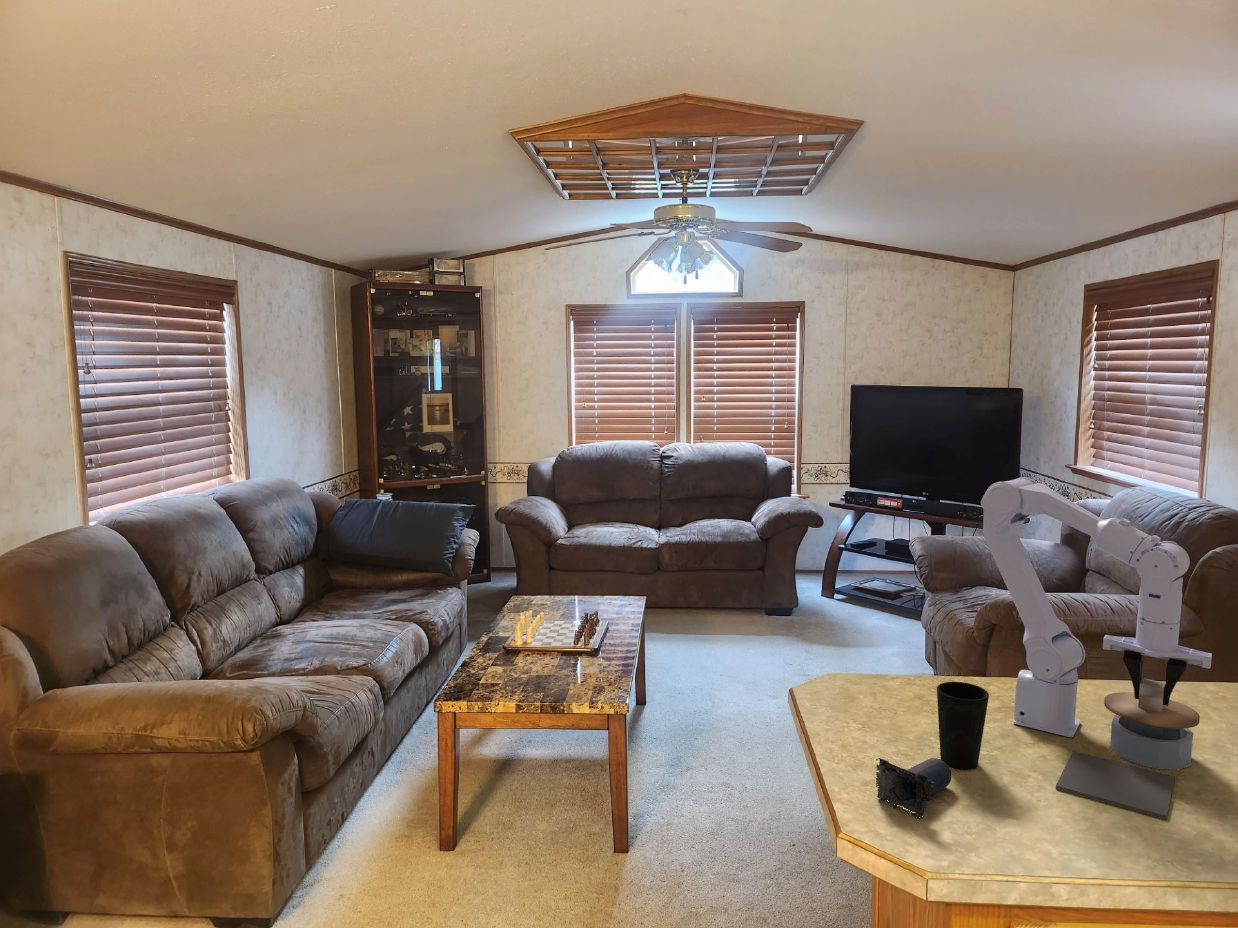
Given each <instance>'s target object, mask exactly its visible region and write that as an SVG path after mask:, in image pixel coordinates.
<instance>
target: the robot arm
mask: <svg viewBox="0 0 1238 928" xmlns="http://www.w3.org/2000/svg"><path fill="white" fill-rule="evenodd" d="M980 505H981V507H982V509H983V517H982V518H983V523H982V524H983V525H982V526H983V527H982V534H983V538H984V539H985V542H986V545H987V546H988V549H989V550H990V553H991V555H992V557H993V560H994V562H995V565H996V566H997V568H998V570H999V573H1000V575H1001V577H1002V579H1003V582H1004V584H1005V587H1006V588H1007V591H1008V593H1009V595H1010V597H1011V599H1012V601H1013V603H1014V605H1015V607H1016V609H1017V613H1018V614H1019V616H1020V619H1021V621H1022V623H1023V625H1024V634H1023V639H1022V643H1023V645H1024V648H1025V652H1026V663H1027V667H1028V669H1029V670H1028V669H1020V670H1019V673H1018V675H1017V677H1016V685H1015V696H1014V697H1015V698H1014V711H1013V713H1014V714H1013V720H1012V723H1013V724H1015V725H1019V726H1022V727H1025V728H1030V729H1033V730H1034V729H1035V730H1038V731H1043V732H1046V733H1052V734H1055V735H1059V736H1063V737H1068V738H1073V737H1074V736H1075V734H1076V732H1077V730H1078V728H1079V726H1080V725H1081V719H1079V718H1076V714H1077V713H1076V711H1077V710H1076V709H1077V698H1078V697H1077V696H1078V685H1079V684H1078V682H1079V675H1078V667H1080V666H1081V665H1082V664H1084V661H1085V658H1086V650H1085V648H1084V645H1083V644H1082V642H1081V641H1080V640H1079V639H1078V638H1077V637H1075V635H1074V634H1073V632H1071V630H1070V627H1069V625H1067V624H1066V623H1065V622H1064V621H1063V620H1061V619H1059V618H1058V617H1057V614H1056V613H1055V611H1054V609H1053V607H1052V605H1051V602H1050V599H1049V598H1048V596H1047V594H1046V592H1045V590H1044V587H1043V585H1042V583H1041V581H1040V578H1039V577H1038V574H1037V573H1036V570H1035V568H1034V566H1033V563H1032V562H1031V559H1030V557H1029V555H1028V553H1027V550H1026V548H1025V546H1024V544H1023V542H1022V541H1021V538H1020V536H1019V533H1020V531H1021V529H1022V527H1023V525H1024V523H1025V521H1026V519H1028V517H1029V516H1031V515H1033V516H1034V515H1046V516H1049V517H1050V518H1052V519H1055V520H1057V521H1059V522H1060V523H1062V524H1065V525H1067V526H1070V527H1071V528H1073V529H1075V530H1077V531H1079V532H1081V533H1084V534H1086V535H1087V536H1089V537H1091V539H1092V542H1093V545H1094V546H1095V547H1096V548H1097V549H1098V550H1100V551H1102V552H1104V553H1106V554H1108V555H1109V556H1112V557H1113V558H1115V559H1117V560H1118V561H1120V562H1122V563H1124V564H1126V565H1128V566H1130V567H1131V568H1134V569H1135V570H1136V573H1137V574H1138V576H1139V577H1140V585H1139V586H1140V587H1139V595H1138V596H1139V597H1138V603H1137V604H1138V607H1137V618H1136V630H1135V631H1136V632H1135V637H1129V636H1128V637H1126V636H1115V635H1110V634H1105V635H1104V637H1103V638H1102V639H1103V640H1102V641H1103V643H1102V649H1103V650H1107V651H1111V650H1113V651H1119V652H1123V657H1122V660H1123V663H1124V665H1125V668H1126V669H1127V672H1128V673H1129V677H1130V680H1131V683H1132V688H1133V693H1134V695H1135V699H1138V700H1139V690H1140V683H1141V680H1142V677H1143V668H1144V667H1143V666H1144V658H1145V656H1146V657H1151V658H1156V659H1163V660H1168V661H1167V663H1166V667H1165V668H1166V669H1165V672H1166V673H1165V683H1166V685H1165V691H1164V697H1163V705H1166V706H1168V704H1169V700H1171V695H1172V693H1173V692H1174V691H1173V690H1174V688H1175V686H1176V685H1177V684H1178V681H1180V679H1181V677H1182V676H1183V674H1184V673H1185V671H1187V667H1188V664H1189V665H1194V666H1200V667H1201V668H1204V669H1211V666H1212V655H1213V654H1212V652H1211V653H1210V652H1205V651H1202V650H1197V649H1194V648H1189V647H1186V646H1181V645H1179V637H1180V636H1179V635H1180V626H1181V625H1180V624H1181V612H1182V601H1183V581H1184V577H1183V575H1185V574H1186V572H1187V571H1188V570H1189V568H1190V566H1191V565H1190V564H1191V561H1190V556H1189V554H1188V552H1187V551H1186V550H1185V548H1183V547H1182V546H1180V545H1178V543H1177V542H1175V541H1170V540H1169V541H1168V540H1165V541H1161V540H1162V539H1161V537H1159V536H1158V535H1156V534H1155V535H1152V536H1151V535H1150V534H1147V533H1146V532H1145V531H1142V530H1140V529H1138V528H1137V527H1134V526H1132V525H1131V523H1132V521H1131V520H1129V519H1127V518H1125V517H1124V518H1120V519H1119V518H1117V517H1112V518H1111V517H1110V518H1107V519H1103V518H1101V517H1099V516H1098V515H1096V514H1094V513H1093V512H1091V511H1089V510H1087V509H1085V508H1084V507H1082V506H1081V505H1079V504H1077V503H1076V502H1073V501H1072V500H1070V499H1069V498H1067V497H1065V496H1063V495H1061V494H1060V493H1059V492H1057V491H1055V490H1053V489H1052V488H1051V487H1049V485H1046V484H1043V483H1041V482H1037V481H1036V480H1034V479H1032V478H1030V477H1028V476H1027V477H1023V476H1022V477H1018V478H1015V479H1010V480H1006V481H998V482H994V483H992V484H991V485H990V486H989V487H988V488H987V489H986V491H985V492H984V495H983V497H982V499H981V501H980Z"/></svg>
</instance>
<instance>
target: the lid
mask: <svg viewBox="0 0 1238 928" xmlns="http://www.w3.org/2000/svg"><path fill="white" fill-rule="evenodd" d="M1165 685H1166V682H1162V681H1159V680H1154V679H1149V678H1142V680H1141V683H1140V690H1139V700H1138V699H1135V695H1134V692H1130V691H1129V692H1127V691H1125V692H1122V691H1120V692H1112V693H1110V694H1106V695H1105V697H1104V699H1103V700H1104V701H1103V704H1104V707H1105V708H1106V709H1107V711H1109V712H1111V713H1113V714H1114V715H1118V716H1121V717H1123V718H1126V719H1129V720H1132V721H1135V722H1138V723H1142V724H1147V725H1151V726H1157V727H1164V728H1188V729H1191V728H1194V727H1197V726H1198V725H1199V724H1200V722H1201V721H1200V720H1201V717H1200V716H1201V715H1200V714H1199V712H1198V711H1197V710H1195V709H1193V708H1192V707H1190V706H1188V705H1186V704H1183V703H1181V702H1178V701H1175V700H1172V699H1170V700H1169V704H1168V706H1166V705H1163V697H1164V691H1165Z"/></svg>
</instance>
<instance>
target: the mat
mask: <svg viewBox="0 0 1238 928" xmlns="http://www.w3.org/2000/svg"><path fill="white" fill-rule="evenodd" d="M1175 780H1176V776H1175V775H1171V774H1167V773H1163V772H1161V771H1155V770H1152V769H1148V768H1145V767H1144V768H1143V767H1139V766H1135V765H1132V764H1128V763H1124V762H1119V761H1117V760H1112V759H1108V758H1104V757H1099V756H1095V755H1092V754H1088V753H1084V752H1079V751H1076V750H1072V752H1071V754H1070V755H1069V757H1068V760H1067V762H1066V764H1065V765H1064V768H1063V770H1062V772H1061V774H1060V776H1059V778H1058V780H1057V782H1056V784H1055V790H1058V791H1061V792H1065V793H1068V794H1071V795H1076V796H1078V797H1079V796H1080V797H1083V798H1086V799H1090V800H1093V801H1098V802H1100V803H1104V804H1108V805H1112V806H1115V807H1119V808H1122V809H1125V810H1128V811H1129V810H1130V811H1132V812H1137V813H1140V814H1144V815H1147V816H1151V817H1154V818H1157V819H1162V820H1164V821H1166V820H1167V817H1168V813H1169V809H1170V804H1171V798H1172V795H1173V789H1174V785H1175Z"/></svg>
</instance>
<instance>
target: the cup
mask: <svg viewBox="0 0 1238 928" xmlns="http://www.w3.org/2000/svg"><path fill="white" fill-rule="evenodd" d="M936 696H937V697H936V699H937V701H936V702H937V718H938V720H937V721H938V734H939V735H938V737H939V738H938V739H939V753H940V757H939V759H940V760H942V761H944V762H945V763H946V764H947V765H948V766H949V768H950V769H952V768H953V770H957V771H963V772H964V771H965V772H967V771H973V770H976V769H977V768H978V767H979V760H980V754H981V747H982V741H983V735H984V730H985V729H984V728H985V723H986V715H987V710H988V703H989V697H990V694H989V692H988V691H987V690H986V689H984V688H983V687H982V686H979V685H976V684H973V683H969V682H964V681H945V682H942V683H940V684H938V685H937V686H936Z"/></svg>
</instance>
